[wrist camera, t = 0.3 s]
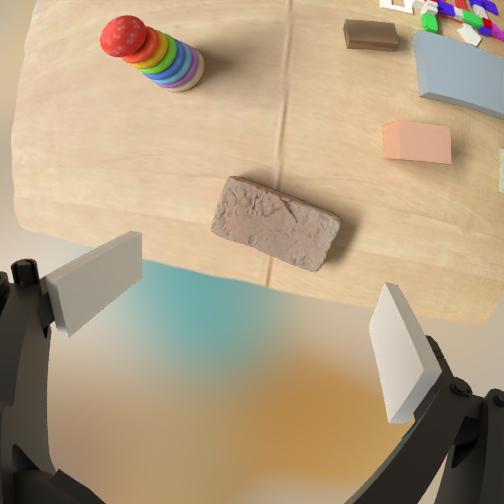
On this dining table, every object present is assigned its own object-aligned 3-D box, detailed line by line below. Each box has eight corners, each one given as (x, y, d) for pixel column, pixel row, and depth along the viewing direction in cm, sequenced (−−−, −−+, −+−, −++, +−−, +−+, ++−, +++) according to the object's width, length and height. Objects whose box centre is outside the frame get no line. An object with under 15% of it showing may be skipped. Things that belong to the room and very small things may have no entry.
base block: (411, 38, 28) (419, 29, 24) (507, 70, 24) (519, 67, 20) (418, 96, 31) (428, 91, 27) (513, 124, 27) (527, 123, 23)
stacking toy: (190, 100, 37) (112, 75, 20) (151, 84, 37) (68, 60, 20) (215, 57, 34) (153, 5, 17) (175, 42, 34) (102, -1, 17)
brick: (341, 214, 39) (345, 222, 35) (319, 265, 42) (319, 278, 38) (234, 172, 40) (224, 175, 36) (217, 224, 44) (206, 233, 39)
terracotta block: (382, 126, 34) (398, 120, 26) (426, 131, 32) (450, 127, 25) (383, 158, 35) (400, 159, 28) (427, 161, 34) (451, 164, 26)
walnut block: (343, 29, 30) (345, 19, 26) (388, 32, 28) (394, 23, 25) (346, 48, 31) (349, 40, 27) (392, 51, 29) (399, 44, 26)
